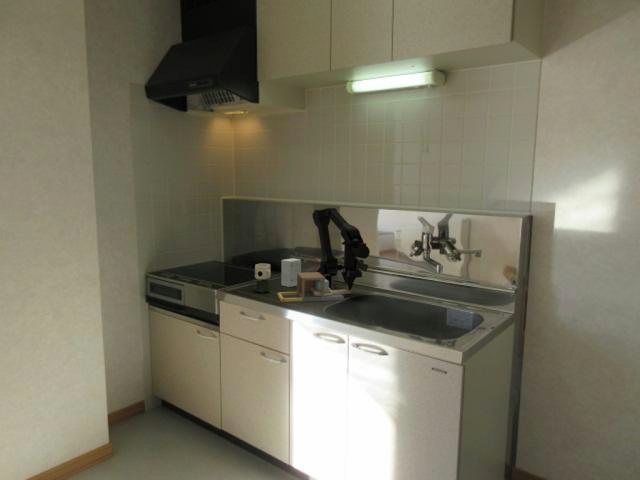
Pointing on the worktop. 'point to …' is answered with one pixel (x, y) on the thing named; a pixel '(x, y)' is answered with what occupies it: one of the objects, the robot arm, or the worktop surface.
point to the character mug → (262, 277)
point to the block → (319, 285)
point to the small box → (290, 272)
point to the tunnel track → (307, 289)
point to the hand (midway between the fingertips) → (349, 288)
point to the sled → (330, 291)
